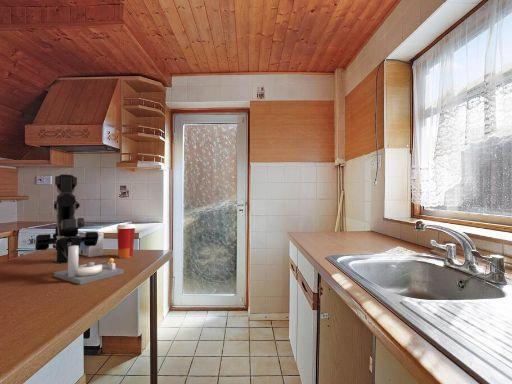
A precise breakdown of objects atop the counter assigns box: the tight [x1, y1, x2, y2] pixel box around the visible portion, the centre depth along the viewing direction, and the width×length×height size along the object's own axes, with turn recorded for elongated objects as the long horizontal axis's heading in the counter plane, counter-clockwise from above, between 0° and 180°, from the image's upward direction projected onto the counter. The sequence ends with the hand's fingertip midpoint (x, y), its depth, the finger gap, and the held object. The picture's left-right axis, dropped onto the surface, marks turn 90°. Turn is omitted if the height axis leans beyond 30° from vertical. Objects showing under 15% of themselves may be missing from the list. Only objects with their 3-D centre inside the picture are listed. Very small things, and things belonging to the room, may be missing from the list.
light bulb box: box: [78, 229, 105, 258], centre depth 141 cm, size 11×7×11 cm, turn 54°
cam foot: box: [67, 245, 109, 277], centre depth 105 cm, size 14×9×10 cm, turn 149°
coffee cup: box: [116, 223, 137, 259], centre depth 137 cm, size 8×8×15 cm
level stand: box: [53, 257, 125, 285], centre depth 107 cm, size 16×16×5 cm
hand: (70, 260), depth 102 cm, fingers closed
